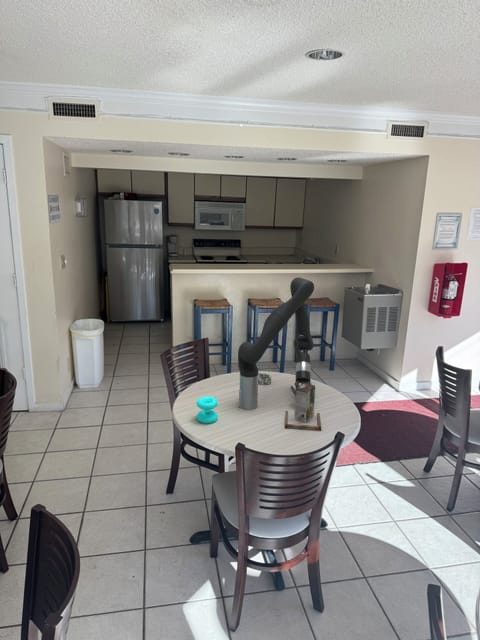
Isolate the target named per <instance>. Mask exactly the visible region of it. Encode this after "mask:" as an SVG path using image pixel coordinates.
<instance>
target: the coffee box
mask: <svg viewBox="0 0 480 640" xmlns="http://www.w3.org/2000/svg"><path fill="white" fill-rule="evenodd" d="M295 390H296V395H295V398H294V401H295V403H294V420H295V421H299V422H302V423H306V424H307V422H309V421H310V420H311V418H313V417H314V415H315V414H314V413H315V412H314V411H315V398H316V395H315V394H316V384H315V385H314V384H312V383H311V384H308V383H304V382H303V383H302V384H301V385H300V386H299V387H297V388H296V387H295Z"/></svg>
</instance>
